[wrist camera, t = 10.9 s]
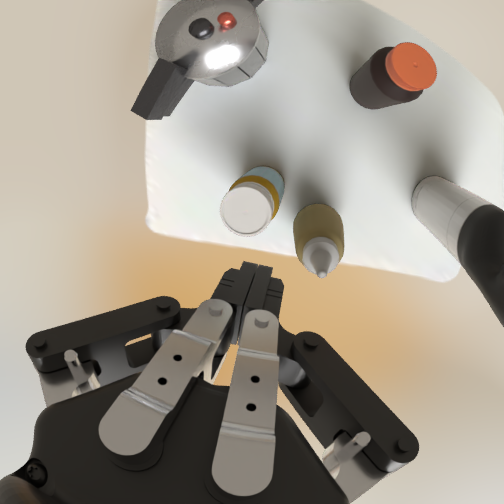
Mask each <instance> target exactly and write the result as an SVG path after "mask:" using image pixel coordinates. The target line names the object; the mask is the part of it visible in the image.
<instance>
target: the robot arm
mask: <svg viewBox="0 0 504 504" xmlns="http://www.w3.org/2000/svg"><path fill="white" fill-rule="evenodd" d="M412 208H413V212H414V214H415V216H416V218H417V219H418V220H419V221H420V222H421V223H422V224H423V225H424V226H425V227H426V228H427V229H428V230H429V231H430V232H431V233H432V234H433V235H434V236H435V237H436V238H437V239H438V240H439V241H440V242H441V244H442V245H443V246H444V247H445V248H446V249H447V250H448V251H449V252H450V253H451V254H452V255H453V256H454V257H455V259H456V260H457V261H458V262H459V263H460V264H461V265H462V266H463V268H464V269H465V270H466V272H467V273H468V275H469V276H470V277H471V279H472V280H473V281H474V282H475V284H476V285H477V286H478V288H479V289H480V291H481V292H482V294H483V295H484V297H485V299H486V300H487V302H488V303H489V305H490V307H491V308H492V310H493V311H494V313H495V315H496V316H497V318H498V319H499V321H500V323H501V324H502V325H503V327H504V211H503V210H502V209H500V208H499V207H497V206H495V205H493V204H492V203H490V202H488V201H486V200H485V199H483V198H481V197H479V196H477V195H475V194H473V193H472V192H470V191H468V190H466V189H464V188H462V187H460V186H458V185H456V184H454V183H452V182H450V181H448V180H446V179H444V178H441V177H439V176H430V177H427V178H425V179H423V180H422V181H421V182H420V183H419V184H418V185H417V187H416V188H415V191H414V193H413V197H412ZM272 269H273V268H272V267H268V266H263V265H259V266H258V264H254V263H250V262H245V261H244V262H243V264H242V266H241V268H240V270H237V269H233V268H231V269H229V270H228V271H226V272H225V273H224V275H223V276H222V279H221V280H220V282H219V284H218V286H217V288H216V289H215V291H214V293H213V295H212V297H211V298H210V299H209V300H206V301H204V302H202V303H201V305H200V306H199V307H198V308H192V309H190V308H180V304H179V302H178V301H177V300H176V299H174V298H172V297H168V296H160V297H156V298H153V299H149V300H146V301H143V302H139V303H136V304H133V305H129V306H126V307H123V308H119V309H116V310H113V311H109V312H106V313H103V314H99V315H96V316H93V317H89V318H86V319H83V320H79V321H75V322H72V323H68V324H65V325H62V326H58V327H55V328H51V329H47V330H44V331H40V332H37V333H35V334H33V335H32V336H31V337H30V338H29V339H28V340H27V343H26V351H27V353H28V355H29V356H30V358H31V360H32V362H33V365H34V367H35V369H36V371H37V372H38V374H39V377H40V382H41V386H42V390H43V394H44V398H45V402H46V406H47V408H45V409H44V410H43V411H42V412H41V414H40V415H39V417H38V419H37V421H36V424H35V429H34V441H33V447H32V452H31V455H30V458H29V460H28V461H27V463H26V464H25V465H24V466H23V467H21V468H20V469H18V470H17V471H15V472H14V473H12V474H10V475H8V476H6V477H4V478H3V479H1V480H0V504H350V503H351V502H353V501H354V500H356V499H357V498H358V497H360V496H361V495H362V494H364V493H365V492H366V491H368V490H369V489H370V488H371V487H373V486H374V485H375V484H376V483H378V482H379V481H380V480H382V479H383V478H385V477H387V476H388V475H390V474H392V473H394V472H395V471H397V470H398V469H400V468H402V467H403V466H405V465H406V464H408V463H409V462H411V461H412V460H414V459H415V457H416V456H417V454H418V451H419V443H418V440H417V438H416V437H415V435H414V434H413V433H412V432H411V431H410V430H409V429H408V428H407V427H406V426H405V425H404V424H403V423H402V421H401V420H400V419H399V418H398V417H397V416H396V415H395V414H394V413H393V412H392V411H391V410H390V409H389V408H388V407H387V406H386V405H385V403H384V402H383V401H382V400H381V399H380V398H379V397H378V396H377V395H376V394H375V393H374V392H373V391H372V390H371V389H370V387H369V386H368V385H367V384H366V383H365V382H364V381H363V380H362V379H361V378H360V377H359V376H358V375H357V374H356V373H355V371H354V370H353V369H352V368H351V367H350V366H349V365H348V364H347V363H346V362H345V361H344V360H343V359H342V358H341V356H340V355H339V354H338V353H337V352H336V351H335V350H334V349H333V348H332V347H331V346H330V345H329V344H328V343H327V341H326V340H325V339H324V338H323V337H321V336H320V335H318V334H316V333H313V332H300V333H298V334H297V335H294V334H292V333H289V332H287V331H286V330H285V329H283V327H282V326H281V325H280V323H279V313H280V307H281V301H282V295H283V290H284V285H283V283H282V280H281V279H277V278H273V277H271V274H272ZM148 334H151V337H150V338H147V339H145V340H142V341H139V342H136V343H133V344H130V345H127V346H125V345H126V343H127V342H129V341H131V340H133V339H136V338H139V337H142V336H145V335H148ZM238 338H239V339H238ZM237 341H238V345H239V349H238V352H237V357H236V361H235V366H234V370H233V375H232V380H231V384H230V386H217V385H213V383H214V381H215V379H216V377H217V375H218V372H219V370H220V368H221V366H222V364H223V362H224V360H225V358H226V355H227V351H228V349H229V347H230V344H235V345H236V343H237ZM278 384H279V387H280V389H281V390H282V392H283V393H284V394H285V396H286V397H287V399H288V400H289V401H290V403H291V404H292V406H293V407H294V408H295V410H296V411H297V412H298V414H299V415H300V417H301V418H302V419H303V421H304V422H305V423H306V425H307V426H308V427H309V429H310V430H311V431H312V433H313V434H314V435H315V436H316V437H317V439H318V440H319V442H320V443H321V444H322V445H323V446H324V448H325V449H326V450H325V451H324V453H323V458H322V459H323V463H322V461H321V460H320V459H319V457H318V456H317V455H316V453H315V451H314V450H313V449H312V447H311V446H310V444H309V443H308V441H307V440H306V438H305V437H304V435H303V434H302V433H301V431H300V430H299V428H298V427H297V425H296V424H295V422H294V421H293V419H292V418H291V417H290V416H289V414H288V413H287V412H286V411H284V410H283V409H282V408H281V407H279V406H278V405H276V403H277V388H278Z"/></svg>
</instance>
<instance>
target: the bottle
mask: <svg viewBox="0 0 504 504" xmlns="http://www.w3.org/2000/svg"><path fill="white" fill-rule="evenodd" d="M284 188H285V186H284V181H283V179H282V177H281V175H280V174H279V173H278V172H277V171H276V170H275V169H273V168H270V167H267V166H259V167H255V168H253V169H251V170H250V171H248V172H247V173H246V174H244V175H243V176H242V177H241V178H239V179H238V180H237V181H236V182H235V183H234V184H233V185H232V186H231V187H230V189H229V192H228V193H227V194H226V195H225V196H224V198H223V200H222V202H221V206H220V215H221V219H222V221H223V223H224V225H225V226H226V227H227V228H228V229H229V230H230V231H231V232H233V233H235V234H237V235H239V236H244V237H250V236H255V235H258V234H259V233H261V232H263V231H264V230H265V228H267V226H268V225H269V223H270V221H271V220H272V219H273V218H274V217H275V215H276V213H277V211H278V209H279V206H280V203H281V200H282V197H283V194H284Z"/></svg>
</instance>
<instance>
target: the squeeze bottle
mask: <svg viewBox="0 0 504 504" xmlns="http://www.w3.org/2000/svg"><path fill="white" fill-rule="evenodd" d="M293 233H294V241H295V248H296V254H297V256H298V259H299V261H300V262H301V263H302V264H303V265H304V266H305V267H306V268H307V270H308V271H310V272H312V273H314V274H317V276H318V277H319V278H324V277H326V276H327V273H330V272H331V271H332V270H334V269H335V268H336V266H337V265H338V263H339V262H340V260H341V258H342V257H343V253H344V231H343V223H342V220H341V217H340V215H339V214H338V213H337V212H336V211H335V210H334V209H333V208H331V207H329V206H327V205H325V204H312V205H309V206H306V207H304V208H303V209H302V210H301V211H300V212H299V213H298V214H297V216H296V218H295V220H294V223H293Z"/></svg>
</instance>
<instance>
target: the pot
mask: <svg viewBox="0 0 504 504" xmlns="http://www.w3.org/2000/svg"><path fill="white" fill-rule="evenodd" d="M248 1H249V2H250V3H251V4H252V6H253V7H254V9H255V8H256V7H257V6H258V5H259V4H260V3H261V2H262V1H263V0H248ZM268 45H269V41H268V39H267V37H266V35H265V33H264V31H263V29H262V27H261V25H260V37H259V40H258V43H257V45H256V47H255V49H254V50H253V52H252V54H251V55H250V56H249V57H248V58H247V59H246V60H245V61H244V62H243V63H242V64H241V65H240V66H238V67H237V68H235V69H234V70H232V71H230V72H228V73H226V74H224V75H221V76H219V77H215V78H211V79H203V80H196V79H189V78H185V79H184V81H183V83H182V84H181V86H180V88H179V89H178V91H177V93H176V94H175V96H174V98H173V100H172V101H171V103H170V105H169V107H168V109H167V110H166V112H165V114H164V116H170V115H171V113H172V112H173V110H174V109H175V107H176V106H177V104H178V103H179V101H180V100H181V99H182V97H183V96H184V94H185V93H186V91H187V90H188V89H189V87H190V86H191V85H192V83H193V82H194V81H198V82H201V83H204V84H206V85H209V86H225V87H229V86H233V85H236V84H238V83H240V82H243V81H245V80H248V79H250V77H251V78H252V77H253V76H254V74H255V73H256V72H257V71H258V70H259V69H260V68H261V66H262V65H263V64H264V63H265V61H266V57H267V51H268Z"/></svg>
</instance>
